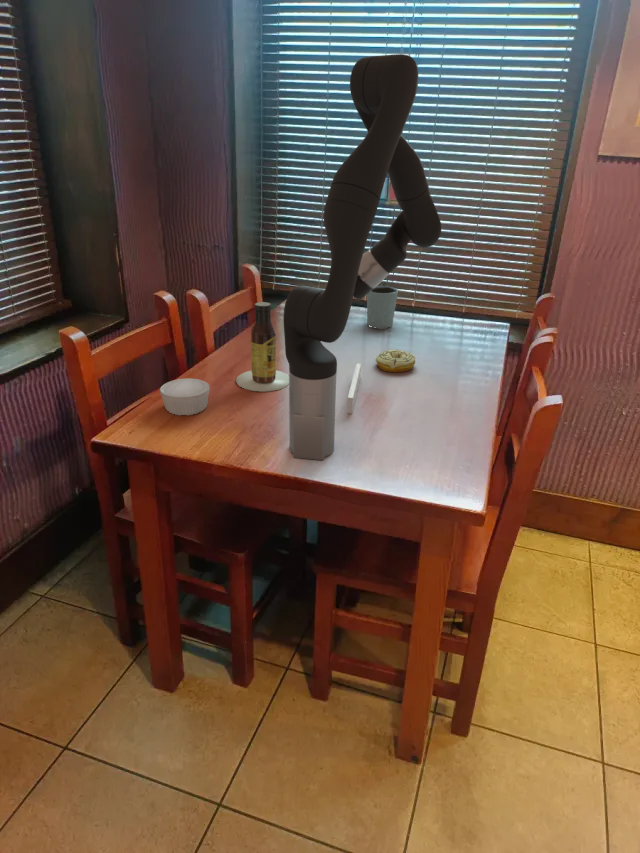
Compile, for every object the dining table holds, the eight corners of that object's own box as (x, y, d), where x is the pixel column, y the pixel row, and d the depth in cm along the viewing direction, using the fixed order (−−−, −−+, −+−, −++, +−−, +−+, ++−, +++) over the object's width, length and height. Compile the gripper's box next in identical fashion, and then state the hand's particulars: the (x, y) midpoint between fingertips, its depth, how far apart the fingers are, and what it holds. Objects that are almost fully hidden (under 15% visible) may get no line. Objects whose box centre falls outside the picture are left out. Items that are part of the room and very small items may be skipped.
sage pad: (284, 393, 148) (284, 392, 148) (229, 389, 150) (229, 387, 149) (295, 372, 160) (295, 371, 160) (244, 368, 162) (244, 367, 162)
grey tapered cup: (361, 327, 196) (363, 291, 191) (368, 319, 205) (370, 284, 199) (392, 331, 194) (395, 294, 188) (397, 322, 202) (400, 287, 197)
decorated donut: (368, 365, 167) (368, 352, 165) (395, 357, 173) (396, 345, 171) (394, 377, 159) (395, 363, 158) (422, 368, 165) (423, 355, 164)
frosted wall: (352, 413, 139) (352, 397, 137) (347, 413, 139) (347, 397, 137) (360, 377, 158) (361, 363, 156) (355, 377, 158) (356, 363, 156)
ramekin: (159, 401, 143) (156, 381, 140) (205, 395, 146) (204, 375, 144) (165, 421, 133) (163, 400, 131) (215, 414, 137) (213, 393, 135)
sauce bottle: (272, 385, 151) (271, 308, 142) (248, 383, 152) (245, 306, 143) (279, 376, 157) (278, 301, 148) (256, 373, 158) (254, 299, 149)
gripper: (356, 256, 143) (308, 300, 149) (351, 268, 130) (298, 316, 137) (377, 280, 145) (328, 322, 151) (373, 294, 132) (320, 340, 138)
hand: (314, 319), depth 144 cm, fingers open, 8 cm apart
